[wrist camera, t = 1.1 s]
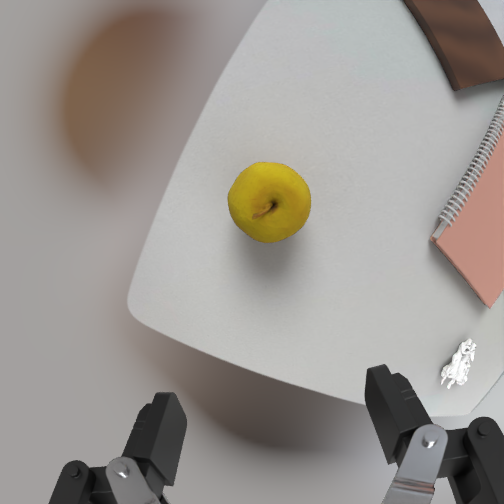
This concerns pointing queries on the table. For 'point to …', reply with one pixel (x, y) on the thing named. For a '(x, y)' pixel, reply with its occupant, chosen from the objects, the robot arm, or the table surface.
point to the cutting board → (461, 40)
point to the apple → (269, 201)
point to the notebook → (478, 219)
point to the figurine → (459, 364)
